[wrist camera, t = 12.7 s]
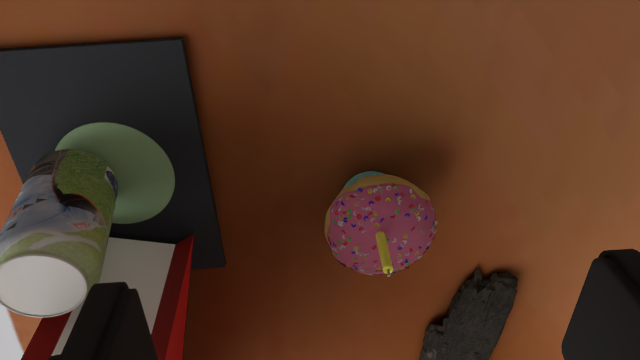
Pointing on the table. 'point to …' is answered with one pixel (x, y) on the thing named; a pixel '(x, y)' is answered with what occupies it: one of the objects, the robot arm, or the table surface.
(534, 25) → the table surface
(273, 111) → the table surface
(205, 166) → the desk mat
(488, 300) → the wood
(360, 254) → the cupcake
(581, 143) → the table surface
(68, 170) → the beverage can
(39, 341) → the book
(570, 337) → the robot arm
